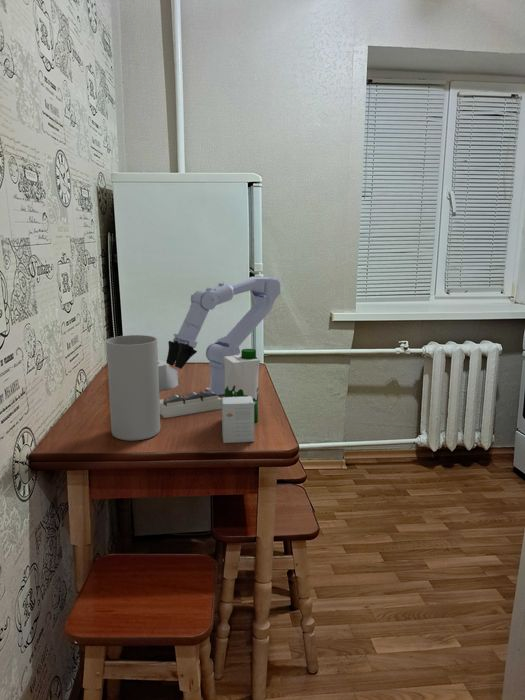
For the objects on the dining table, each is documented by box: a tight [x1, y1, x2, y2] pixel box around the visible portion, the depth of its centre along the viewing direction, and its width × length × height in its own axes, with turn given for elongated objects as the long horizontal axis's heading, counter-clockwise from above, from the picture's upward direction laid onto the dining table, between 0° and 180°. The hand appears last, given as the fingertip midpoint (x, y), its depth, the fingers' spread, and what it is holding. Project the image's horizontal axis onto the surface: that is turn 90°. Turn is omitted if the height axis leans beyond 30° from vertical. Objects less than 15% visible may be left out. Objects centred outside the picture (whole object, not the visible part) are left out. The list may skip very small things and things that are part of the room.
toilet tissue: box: [158, 359, 179, 392], centre depth 176 cm, size 9×13×9 cm
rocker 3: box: [198, 390, 218, 398], centre depth 155 cm, size 4×3×2 cm, turn 119°
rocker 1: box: [163, 393, 182, 405], centre depth 150 cm, size 4×3×2 cm, turn 119°
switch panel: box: [159, 395, 222, 419], centre depth 155 cm, size 22×8×4 cm, turn 119°
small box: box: [221, 396, 255, 444], centre depth 132 cm, size 8×6×10 cm
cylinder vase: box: [105, 334, 161, 442], centre depth 134 cm, size 12×12×25 cm
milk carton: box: [224, 348, 261, 423], centre depth 144 cm, size 9×9×20 cm
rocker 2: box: [182, 391, 200, 402], centre depth 152 cm, size 4×3×2 cm, turn 119°
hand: (173, 366), depth 159 cm, fingers open, 7 cm apart
